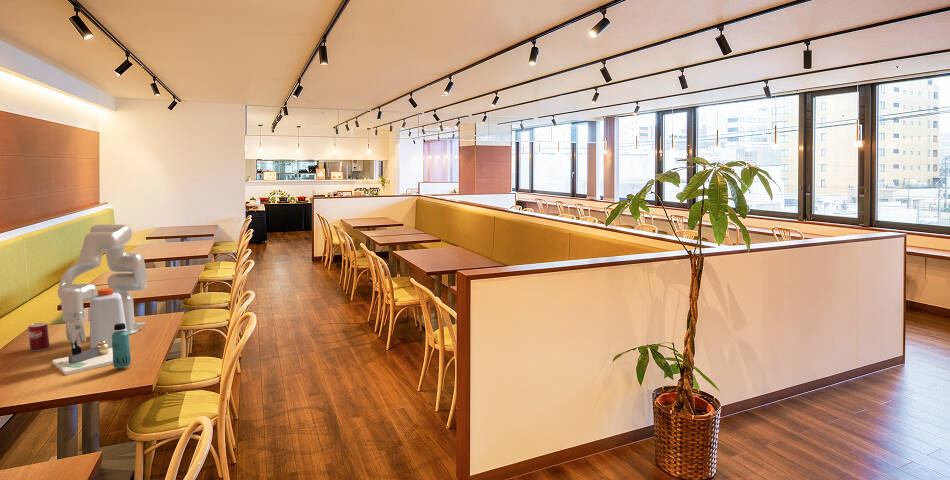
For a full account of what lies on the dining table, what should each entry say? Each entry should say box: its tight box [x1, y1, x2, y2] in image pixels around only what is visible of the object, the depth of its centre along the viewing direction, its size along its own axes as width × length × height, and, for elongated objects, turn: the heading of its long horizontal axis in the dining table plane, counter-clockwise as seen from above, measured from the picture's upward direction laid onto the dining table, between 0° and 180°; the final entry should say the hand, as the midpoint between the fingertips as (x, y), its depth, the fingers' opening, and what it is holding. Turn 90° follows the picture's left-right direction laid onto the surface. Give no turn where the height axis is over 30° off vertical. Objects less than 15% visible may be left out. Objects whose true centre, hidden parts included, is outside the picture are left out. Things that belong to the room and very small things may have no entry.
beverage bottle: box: [112, 323, 132, 369], centre depth 229 cm, size 6×7×20 cm
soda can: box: [27, 322, 51, 352], centre depth 251 cm, size 7×7×12 cm
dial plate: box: [51, 347, 114, 376], centre depth 237 cm, size 23×20×2 cm
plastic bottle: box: [89, 288, 127, 349], centre depth 256 cm, size 15×15×28 cm
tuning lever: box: [67, 340, 108, 364], centre depth 237 cm, size 17×4×6 cm, turn 163°
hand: (77, 356), depth 235 cm, fingers closed
